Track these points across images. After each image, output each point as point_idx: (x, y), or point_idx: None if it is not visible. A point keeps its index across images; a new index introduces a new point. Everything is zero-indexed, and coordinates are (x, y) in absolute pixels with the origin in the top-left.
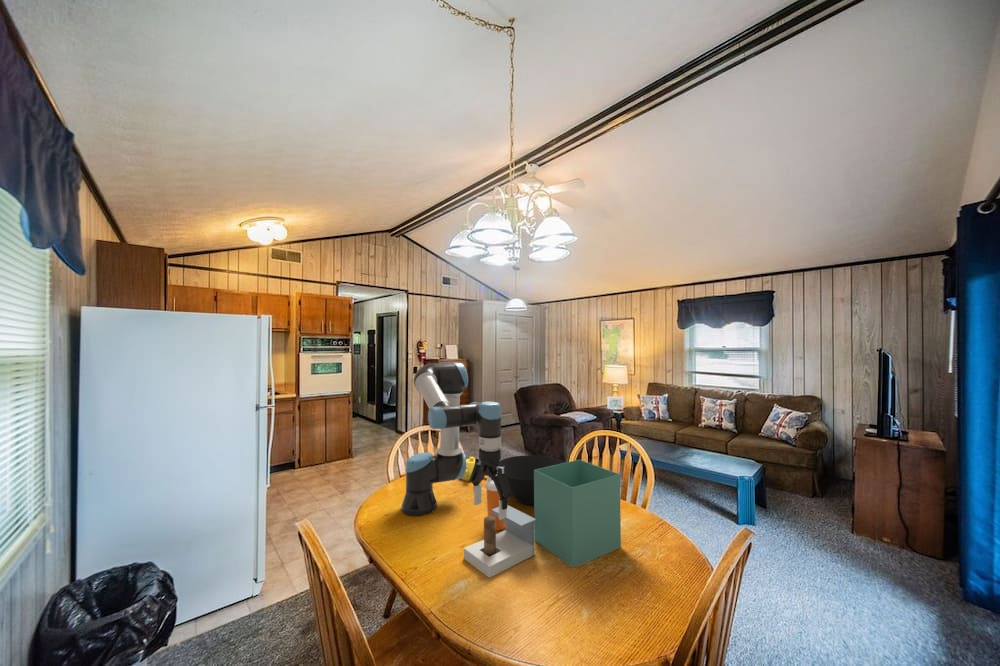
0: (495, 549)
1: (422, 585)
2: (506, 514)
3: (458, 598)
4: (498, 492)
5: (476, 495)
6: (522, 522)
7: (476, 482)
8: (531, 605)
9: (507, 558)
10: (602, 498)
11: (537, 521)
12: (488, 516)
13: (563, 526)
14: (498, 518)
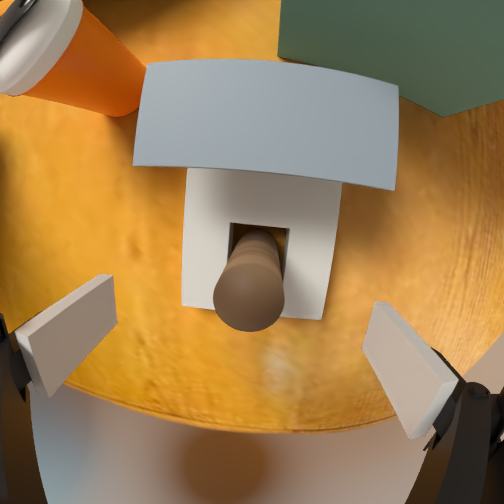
0: (276, 248)
1: (217, 408)
2: (395, 310)
3: (308, 390)
4: (420, 478)
5: (85, 347)
6: (377, 158)
7: (29, 415)
8: (441, 301)
9: (333, 244)
10: None
11: (303, 25)
12: (218, 283)
13: (474, 74)
14: (126, 89)
